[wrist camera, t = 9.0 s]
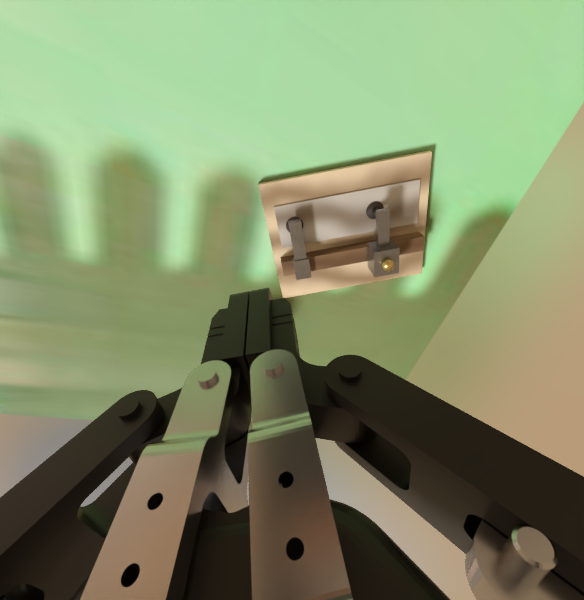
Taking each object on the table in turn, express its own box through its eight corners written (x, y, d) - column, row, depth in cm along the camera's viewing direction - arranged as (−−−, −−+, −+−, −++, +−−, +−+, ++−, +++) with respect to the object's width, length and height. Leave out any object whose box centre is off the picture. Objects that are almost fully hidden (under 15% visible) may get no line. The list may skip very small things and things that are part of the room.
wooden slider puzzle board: (258, 182, 42) (258, 188, 40) (428, 150, 42) (439, 153, 39) (282, 294, 53) (283, 304, 50) (418, 269, 52) (426, 278, 50)
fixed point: (285, 217, 44) (286, 224, 42) (301, 214, 44) (303, 221, 41) (294, 271, 49) (296, 280, 47) (309, 269, 49) (311, 277, 46)
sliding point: (362, 205, 43) (376, 218, 38) (387, 200, 43) (404, 213, 38) (364, 262, 49) (376, 280, 43) (386, 257, 48) (401, 276, 43)
